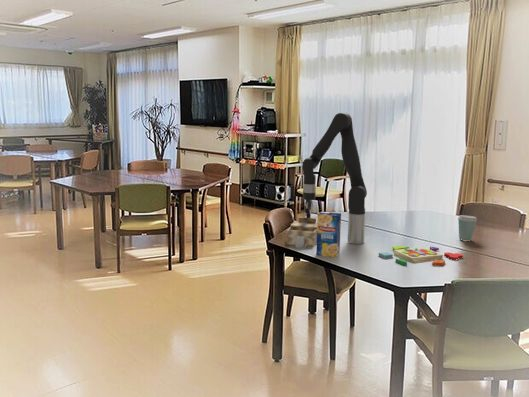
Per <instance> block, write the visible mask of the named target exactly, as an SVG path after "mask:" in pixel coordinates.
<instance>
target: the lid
mask: <svg viewBox="0 0 529 397" xmlns="http://www.w3.org/2000/svg"><path fill="white" fill-rule="evenodd" d="M290 227H301V228H313V229H317V218H316V217H311V218H309V217H306V216H299V217H298V221H296V220H294V221H293V222H292V223H291V224H290ZM290 227H289V228H290Z"/></svg>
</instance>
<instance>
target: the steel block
mask: <svg viewBox="0 0 529 397" xmlns="http://www.w3.org/2000/svg"><path fill="white" fill-rule="evenodd" d="M294 246H295V247H294V248H295V249H302V248H304V249H305V247H306V246H305V236H297V237H296V245H294Z"/></svg>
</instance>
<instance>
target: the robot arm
mask: <svg viewBox="0 0 529 397" xmlns="http://www.w3.org/2000/svg"><path fill="white" fill-rule="evenodd" d="M353 126H354V124H353V118H352V116H351V115H350V114H349V113H347V112H338V113H337V114H335V115H334V117H333V118H332V120H331V122H330V124H329V126H328V128H327V129H326V132H325V133H324V134H323V136H322V137H321V139H320V140H319V141H318V142H317V144H316V145H315V146H314V148H313V150H312V152H311V155H310V156H309V157H307V158H305V159H303V162H302V164H301V168H302V173H303V174H302V175H303V185H302V200H304V201H305V202H304V205H305V206H304V212H305V215H306V216H305V217H309V218H312V217H311V214H312V212H313V207H314V203H313V201H314V200H316V195H317V194H316V192H317V191H316V189H317V187H316V186H317V185H316V180H317V179H316V175H315V173H314V170H315V169H316V168H317V167H318V166H319V164H320V163H321V161H322V158H323V157H324V156H325V155H326V153H327V152H328V150H329V149H330V147H331V146H332V144H333V142H334V141H335V139H336V138H337V136H338V135H339V133H340V138H341V146H340V148H341V151H340V152H341V157H342V158H341V159H342V162H343V165H344V168H345V171H346V172H347V175H348V178H349V181H350V189H349V190H348V191H349V192H348V196H347V198H348V200H347V201H348V202H347V206H348V221H347V222H348V223H347V243H349V244H353V245H363V244H364V243H365V229H366V226H365V223H366V220H365V219H366V208H365V204H366V203H365V200H366V197H367V194H368V192H367V191H368V190H367V187H366V184H365V182H364V179H363V173H362V165H361V161H360V156H359V151H358V146H357V143H356V140H355V139H356V138H355V135H354V127H353Z"/></svg>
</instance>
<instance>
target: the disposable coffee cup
mask: <svg viewBox="0 0 529 397" xmlns="http://www.w3.org/2000/svg"><path fill="white" fill-rule="evenodd" d="M457 219H458V220H457V222H458V238H459V240H460V239H462V240H471V241H472V239H473V235H474V232H475V228H476V225H477V221H478V218H477V217H476V216H472V215H465V214H463V215H462V214H460V215H459V216H458V218H457Z"/></svg>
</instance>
